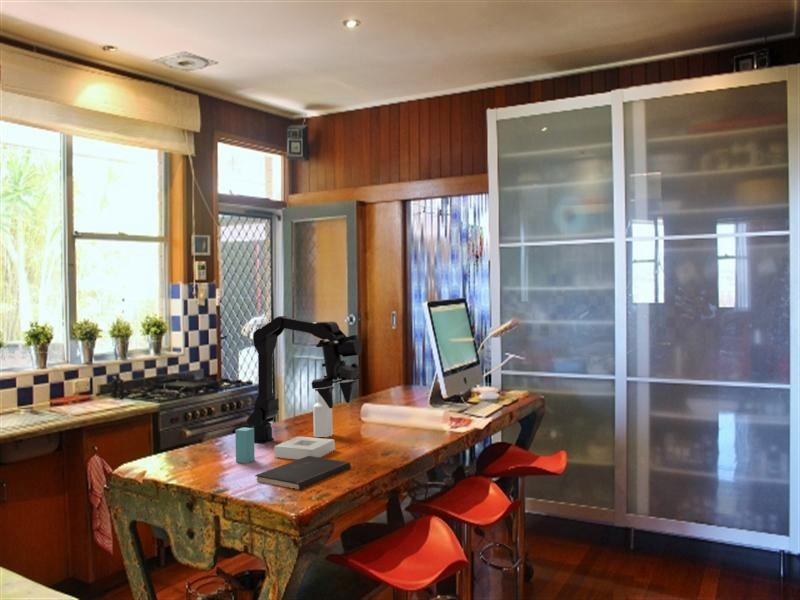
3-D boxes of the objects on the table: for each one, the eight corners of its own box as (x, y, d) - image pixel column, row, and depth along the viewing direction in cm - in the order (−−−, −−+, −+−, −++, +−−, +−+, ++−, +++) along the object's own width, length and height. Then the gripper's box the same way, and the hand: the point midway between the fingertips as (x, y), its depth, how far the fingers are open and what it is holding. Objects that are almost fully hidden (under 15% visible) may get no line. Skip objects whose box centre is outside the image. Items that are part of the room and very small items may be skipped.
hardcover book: (255, 483, 176) (255, 474, 176) (308, 463, 195) (308, 455, 195) (299, 492, 167) (299, 483, 167) (350, 470, 187) (350, 462, 187)
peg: (236, 462, 196) (235, 430, 195) (243, 458, 199) (243, 427, 199) (246, 463, 194) (246, 431, 194) (254, 460, 198) (253, 428, 198)
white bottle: (334, 433, 232) (333, 384, 232) (330, 438, 226) (329, 387, 225) (316, 433, 233) (315, 384, 233) (311, 437, 226) (310, 387, 226)
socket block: (274, 457, 201) (274, 446, 201) (298, 446, 214) (297, 436, 214) (312, 461, 195) (312, 449, 195) (334, 450, 208) (334, 439, 208)
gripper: (334, 360, 199) (341, 409, 199) (368, 353, 215) (375, 398, 214) (307, 363, 205) (314, 411, 204) (342, 356, 221) (349, 400, 220)
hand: (339, 405), depth 211 cm, fingers open, 9 cm apart
